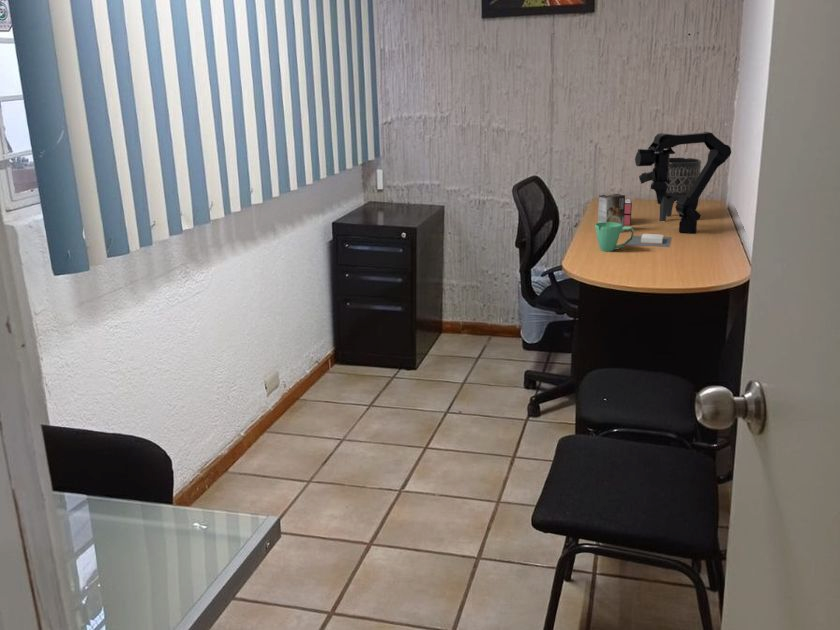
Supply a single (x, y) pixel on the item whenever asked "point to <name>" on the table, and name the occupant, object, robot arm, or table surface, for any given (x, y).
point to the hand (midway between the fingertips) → (659, 203)
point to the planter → (679, 182)
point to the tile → (652, 238)
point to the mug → (610, 235)
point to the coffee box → (611, 208)
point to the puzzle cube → (627, 212)
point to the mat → (637, 242)
